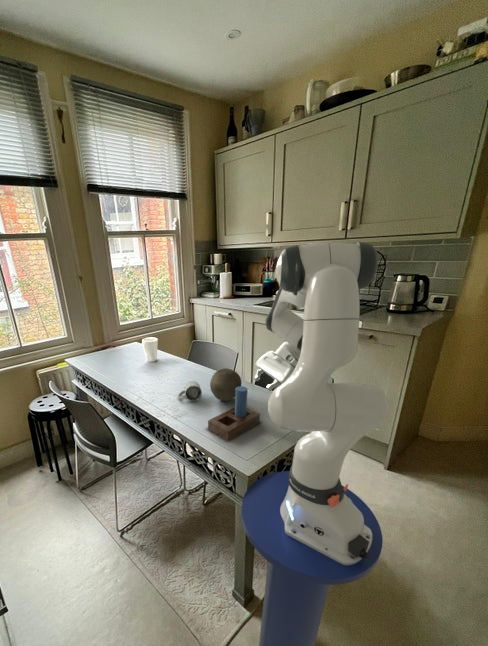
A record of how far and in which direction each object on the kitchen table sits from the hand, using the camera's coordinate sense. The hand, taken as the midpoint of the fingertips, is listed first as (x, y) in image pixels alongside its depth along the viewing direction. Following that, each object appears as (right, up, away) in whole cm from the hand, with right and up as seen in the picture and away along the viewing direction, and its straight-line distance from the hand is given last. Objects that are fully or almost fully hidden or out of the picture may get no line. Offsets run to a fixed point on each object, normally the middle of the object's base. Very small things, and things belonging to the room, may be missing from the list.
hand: (261, 384), depth 122 cm
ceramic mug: (-27, -6, +25) cm, 37 cm away
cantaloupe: (-11, -7, +21) cm, 25 cm away
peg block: (-10, -16, +2) cm, 19 cm away
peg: (-8, -15, +4) cm, 17 cm away
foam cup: (-51, +15, +72) cm, 90 cm away
